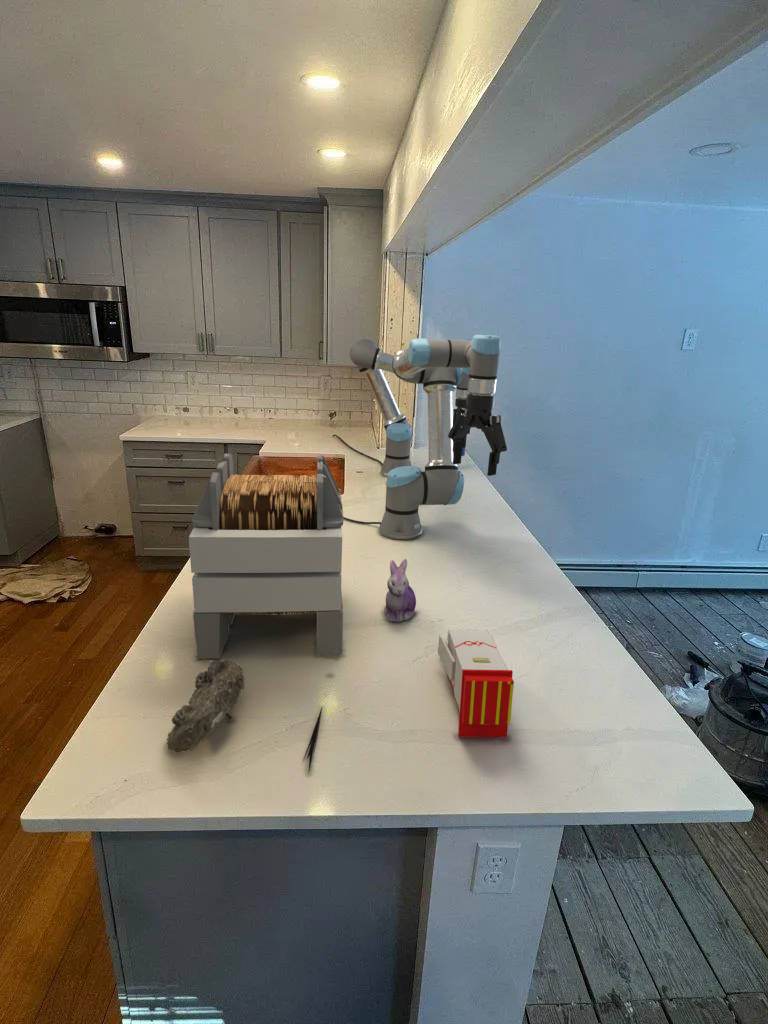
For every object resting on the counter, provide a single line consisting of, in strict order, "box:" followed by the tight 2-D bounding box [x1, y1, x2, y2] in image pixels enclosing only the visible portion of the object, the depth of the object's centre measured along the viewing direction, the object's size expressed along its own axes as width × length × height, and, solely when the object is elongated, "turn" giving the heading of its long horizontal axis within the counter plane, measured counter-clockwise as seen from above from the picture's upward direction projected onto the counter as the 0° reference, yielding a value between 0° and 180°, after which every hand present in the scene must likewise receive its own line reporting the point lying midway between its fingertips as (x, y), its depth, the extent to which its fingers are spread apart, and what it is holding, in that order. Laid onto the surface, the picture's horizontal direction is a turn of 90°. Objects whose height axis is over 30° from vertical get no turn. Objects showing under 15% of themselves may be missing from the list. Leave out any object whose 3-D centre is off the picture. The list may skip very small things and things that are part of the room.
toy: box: [437, 628, 515, 738], centre depth 117 cm, size 12×13×30 cm
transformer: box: [188, 452, 345, 660], centre depth 135 cm, size 34×33×41 cm
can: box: [453, 447, 466, 457], centre depth 277 cm, size 6×6×13 cm
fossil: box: [166, 658, 245, 754], centre depth 106 cm, size 22×10×15 cm
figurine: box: [384, 558, 417, 623], centre depth 145 cm, size 9×10×15 cm
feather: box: [301, 673, 332, 771], centre depth 108 cm, size 2×28×2 cm
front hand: (473, 469), depth 162 cm, fingers open, 13 cm apart
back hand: (459, 445), depth 278 cm, fingers closed on can, 6 cm apart
